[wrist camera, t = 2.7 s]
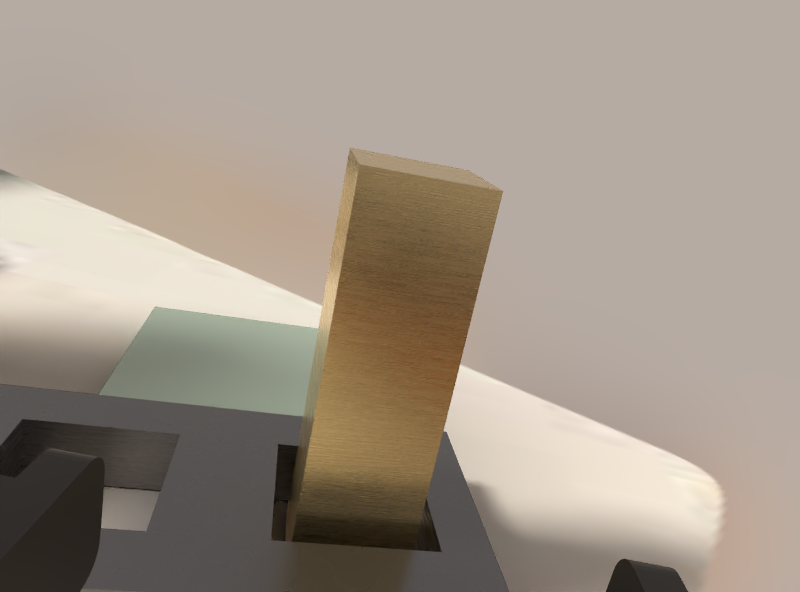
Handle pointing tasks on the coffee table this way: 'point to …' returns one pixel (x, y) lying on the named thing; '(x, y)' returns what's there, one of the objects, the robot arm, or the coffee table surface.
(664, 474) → the coffee table surface
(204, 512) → the frame with square holes
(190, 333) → the pad
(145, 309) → the coffee table surface
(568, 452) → the coffee table surface
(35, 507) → the robot arm
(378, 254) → the plug
